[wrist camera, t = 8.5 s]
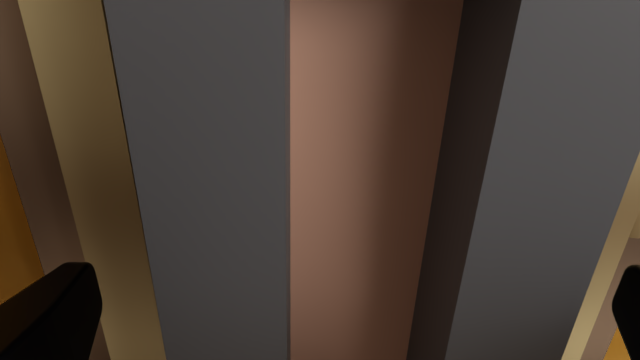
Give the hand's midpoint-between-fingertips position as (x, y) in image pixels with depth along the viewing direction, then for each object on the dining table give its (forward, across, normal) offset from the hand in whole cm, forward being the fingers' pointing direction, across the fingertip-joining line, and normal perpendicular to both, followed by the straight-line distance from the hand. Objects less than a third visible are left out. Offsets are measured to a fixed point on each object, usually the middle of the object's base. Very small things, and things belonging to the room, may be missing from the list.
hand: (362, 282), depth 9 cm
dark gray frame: (+3, 0, 0) cm, 3 cm away
